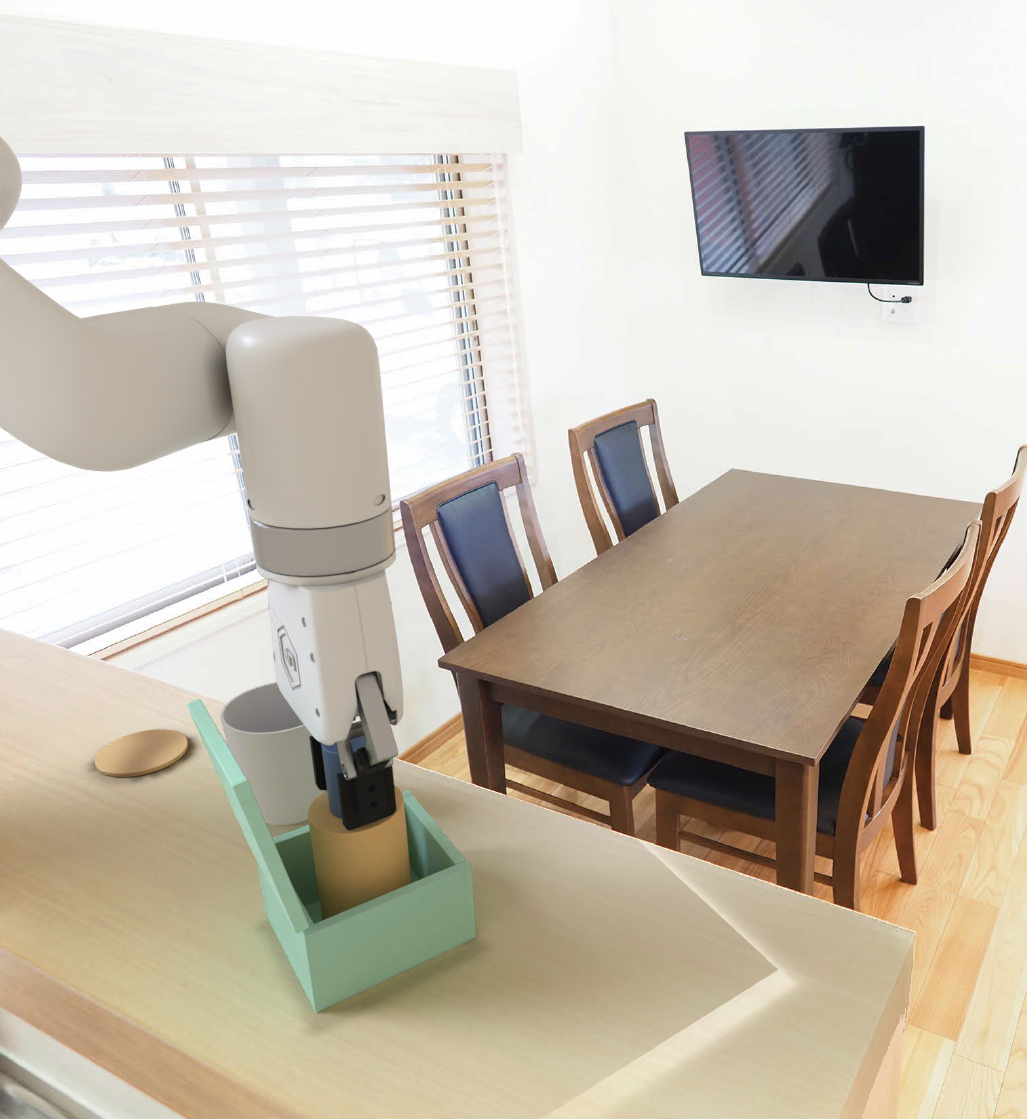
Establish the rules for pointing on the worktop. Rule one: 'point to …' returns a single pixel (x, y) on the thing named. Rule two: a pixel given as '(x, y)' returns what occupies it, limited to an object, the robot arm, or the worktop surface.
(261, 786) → the cup
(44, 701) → the worktop surface
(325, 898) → the tan cardboard cylinder
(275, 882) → the lid
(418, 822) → the mint green lidded box
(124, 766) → the coaster
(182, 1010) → the worktop surface
